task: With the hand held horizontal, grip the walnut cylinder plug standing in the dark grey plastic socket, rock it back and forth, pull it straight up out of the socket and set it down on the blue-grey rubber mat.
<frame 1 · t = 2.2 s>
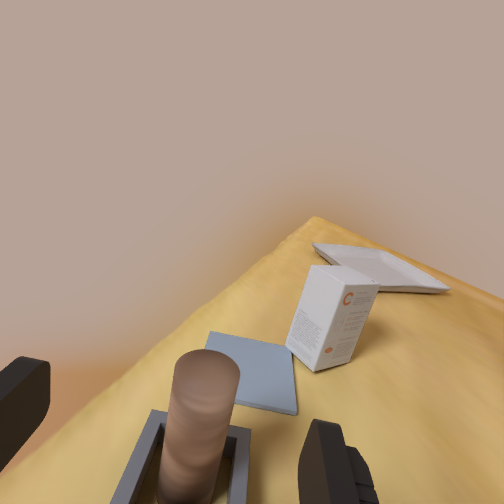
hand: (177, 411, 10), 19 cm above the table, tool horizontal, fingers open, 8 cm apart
plug: (195, 434, 24), in the socket
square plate: (371, 275, 90), on the table
mat: (246, 369, 42), on the table
small box: (315, 355, 47), on the table, touching mat
socket: (185, 488, 26), on the table
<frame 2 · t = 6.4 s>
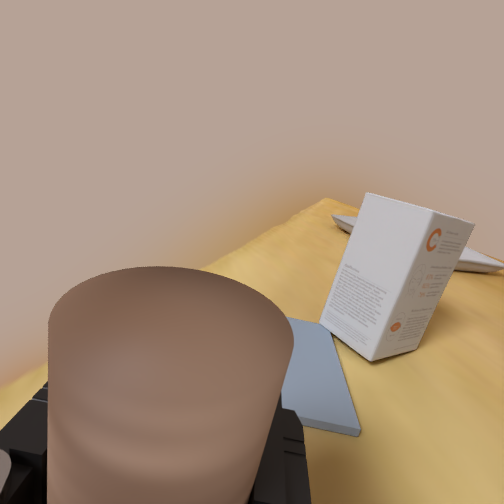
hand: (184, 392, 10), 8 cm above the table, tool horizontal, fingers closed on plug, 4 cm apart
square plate: (405, 252, 73), on the table
mat: (264, 356, 25), on the table
small box: (365, 338, 31), on the table, touching mat
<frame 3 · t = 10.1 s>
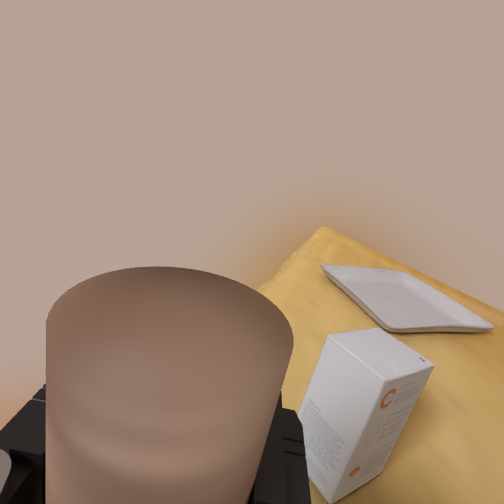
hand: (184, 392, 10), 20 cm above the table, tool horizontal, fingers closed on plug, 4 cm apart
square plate: (393, 306, 74), on the table
small box: (332, 461, 32), on the table, touching mat
when the fingers open (9 cm above the table, at t = 13.9 s): plug stays where it is, resting on mat.
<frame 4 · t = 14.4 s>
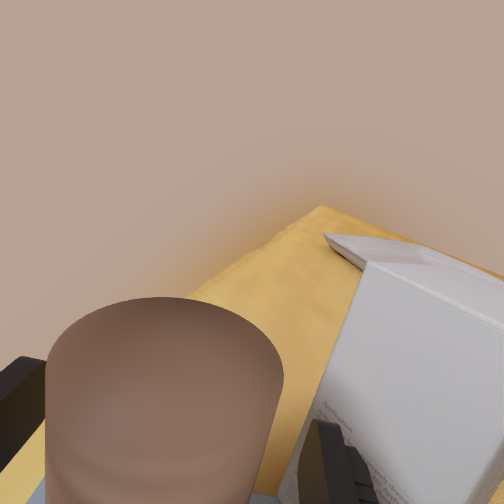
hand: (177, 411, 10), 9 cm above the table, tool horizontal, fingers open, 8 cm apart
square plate: (415, 282, 59), on the table
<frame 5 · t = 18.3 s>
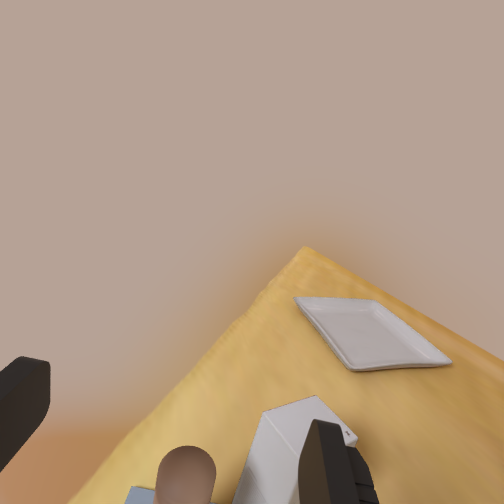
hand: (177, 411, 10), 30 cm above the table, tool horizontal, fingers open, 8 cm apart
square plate: (361, 339, 78), on the table
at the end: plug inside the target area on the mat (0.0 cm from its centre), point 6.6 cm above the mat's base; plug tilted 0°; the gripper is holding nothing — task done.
